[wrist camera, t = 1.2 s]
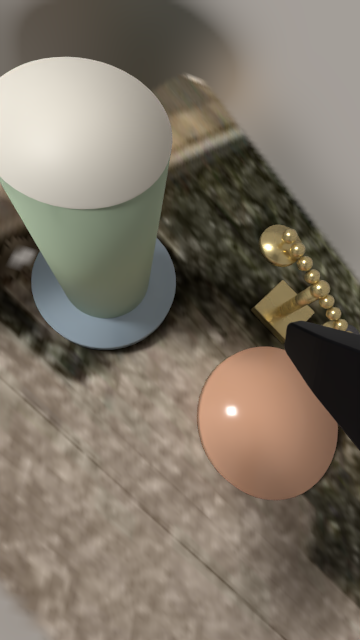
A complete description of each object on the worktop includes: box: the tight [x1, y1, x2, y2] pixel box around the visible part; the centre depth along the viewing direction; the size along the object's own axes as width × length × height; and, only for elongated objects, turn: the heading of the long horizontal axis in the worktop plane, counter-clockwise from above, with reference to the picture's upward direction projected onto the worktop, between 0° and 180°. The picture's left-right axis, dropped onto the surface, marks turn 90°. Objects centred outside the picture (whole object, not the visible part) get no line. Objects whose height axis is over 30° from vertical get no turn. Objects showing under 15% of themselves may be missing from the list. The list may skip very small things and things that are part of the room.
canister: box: [0, 57, 172, 318], centre depth 15 cm, size 6×6×12 cm
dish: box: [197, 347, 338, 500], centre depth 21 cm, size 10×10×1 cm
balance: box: [251, 225, 360, 343], centre depth 21 cm, size 4×10×7 cm, turn 44°
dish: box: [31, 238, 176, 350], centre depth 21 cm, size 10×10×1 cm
